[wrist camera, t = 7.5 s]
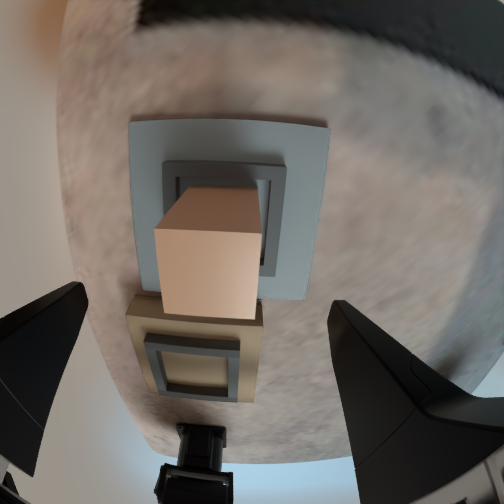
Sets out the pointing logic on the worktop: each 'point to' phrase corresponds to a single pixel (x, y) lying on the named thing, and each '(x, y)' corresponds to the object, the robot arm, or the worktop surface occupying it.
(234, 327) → the beige square socket
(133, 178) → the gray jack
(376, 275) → the worktop surface
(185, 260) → the plug
